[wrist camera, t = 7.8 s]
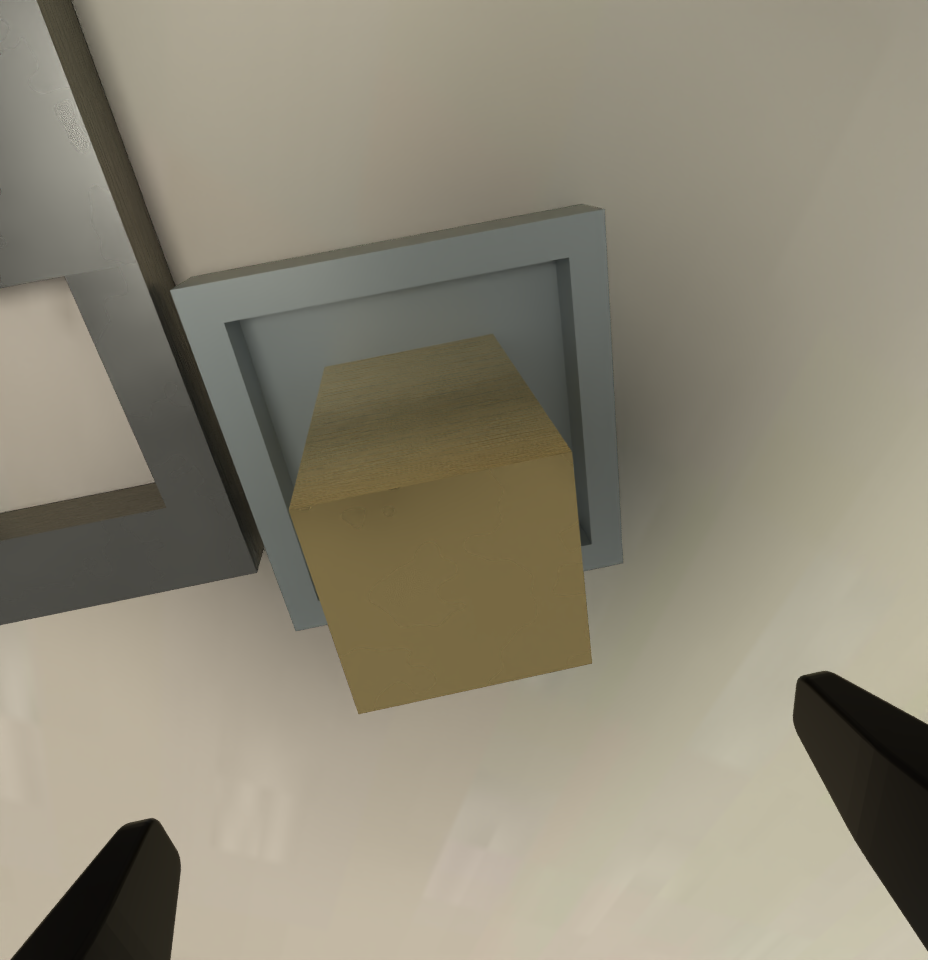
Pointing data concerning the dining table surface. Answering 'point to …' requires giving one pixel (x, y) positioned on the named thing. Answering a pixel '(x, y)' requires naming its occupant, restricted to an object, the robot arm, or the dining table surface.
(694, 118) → the dining table surface
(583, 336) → the tray
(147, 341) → the grey flat frame
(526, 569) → the tan rectangular block
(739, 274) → the dining table surface
